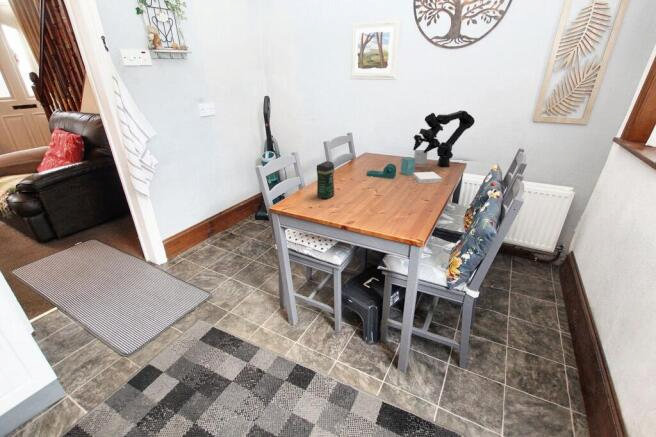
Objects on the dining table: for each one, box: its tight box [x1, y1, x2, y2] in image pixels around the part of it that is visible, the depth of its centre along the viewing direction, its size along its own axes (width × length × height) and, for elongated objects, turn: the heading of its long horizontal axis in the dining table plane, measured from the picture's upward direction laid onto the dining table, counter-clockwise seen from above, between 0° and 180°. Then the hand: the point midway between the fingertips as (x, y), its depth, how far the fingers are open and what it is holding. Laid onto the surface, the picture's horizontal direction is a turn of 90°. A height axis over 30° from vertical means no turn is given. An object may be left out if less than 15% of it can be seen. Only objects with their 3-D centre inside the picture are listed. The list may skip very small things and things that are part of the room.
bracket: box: [366, 163, 397, 180], centre depth 191 cm, size 18×7×8 cm, turn 67°
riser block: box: [412, 171, 443, 184], centre depth 184 cm, size 13×13×3 cm
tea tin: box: [400, 156, 416, 176], centre depth 194 cm, size 6×6×10 cm
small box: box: [413, 147, 428, 165], centre depth 214 cm, size 8×6×10 cm
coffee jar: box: [316, 160, 335, 199], centre depth 159 cm, size 10×8×19 cm
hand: (418, 151), depth 193 cm, fingers open, 9 cm apart
